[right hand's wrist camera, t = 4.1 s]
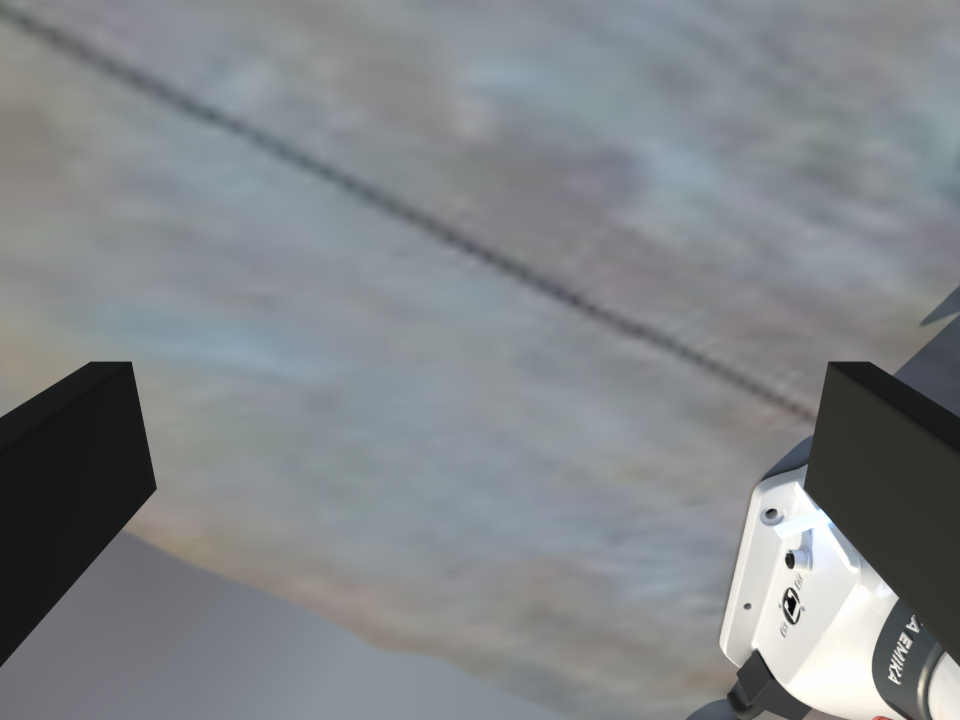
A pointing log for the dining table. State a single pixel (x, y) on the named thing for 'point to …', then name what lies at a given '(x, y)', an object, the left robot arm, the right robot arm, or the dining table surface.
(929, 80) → the dining table surface
